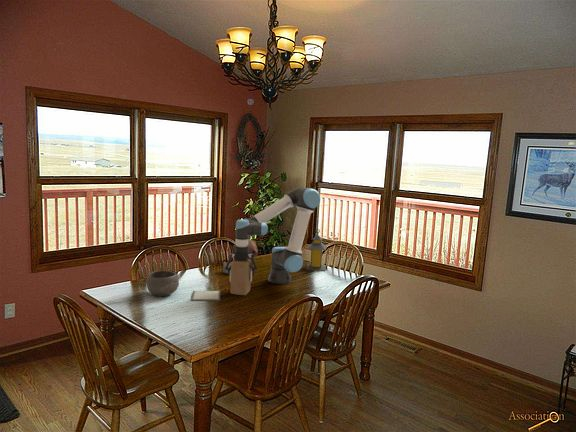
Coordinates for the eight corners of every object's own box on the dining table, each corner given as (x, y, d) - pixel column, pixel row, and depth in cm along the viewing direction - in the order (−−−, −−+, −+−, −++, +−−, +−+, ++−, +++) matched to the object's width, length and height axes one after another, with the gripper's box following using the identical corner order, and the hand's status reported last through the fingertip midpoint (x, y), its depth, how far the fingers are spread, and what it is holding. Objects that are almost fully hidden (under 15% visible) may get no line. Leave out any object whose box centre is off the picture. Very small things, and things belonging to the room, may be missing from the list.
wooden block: (245, 296, 249) (246, 263, 246) (229, 294, 251) (230, 261, 248) (250, 291, 259) (251, 259, 256) (235, 289, 261) (236, 257, 258)
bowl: (184, 292, 251) (184, 271, 249) (166, 301, 234) (166, 279, 232) (159, 288, 256) (159, 268, 255) (139, 297, 239) (139, 275, 238)
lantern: (307, 265, 327) (309, 227, 322) (325, 266, 325) (327, 228, 320) (305, 269, 313) (307, 230, 308) (324, 271, 311) (327, 231, 307)
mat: (220, 291, 255) (220, 290, 255) (220, 300, 239) (220, 299, 239) (193, 291, 253) (193, 290, 252) (191, 300, 237) (191, 299, 237)
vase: (223, 262, 324) (224, 223, 319) (239, 257, 341) (240, 221, 337) (250, 267, 312) (251, 227, 307) (265, 262, 329) (266, 224, 325)
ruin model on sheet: (239, 274, 295) (239, 260, 293) (237, 275, 292) (237, 261, 290) (225, 272, 299) (225, 258, 298) (223, 273, 296) (223, 259, 295)
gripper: (261, 244, 256) (260, 279, 259) (221, 244, 253) (220, 279, 256) (262, 247, 249) (261, 282, 252) (221, 246, 245) (220, 282, 248)
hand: (240, 280), depth 254 cm, fingers closed on wooden block, 12 cm apart
